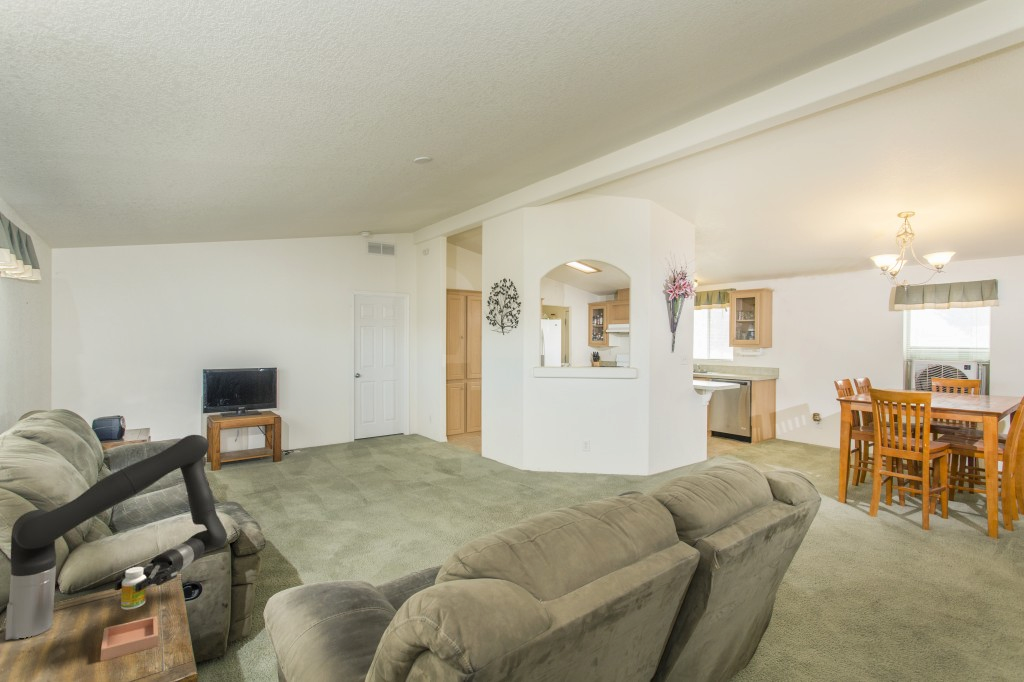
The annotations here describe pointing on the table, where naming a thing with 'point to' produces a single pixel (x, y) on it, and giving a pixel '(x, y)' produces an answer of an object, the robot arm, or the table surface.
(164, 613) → the table surface
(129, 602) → the supplement bottle
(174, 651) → the table surface
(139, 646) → the tray
